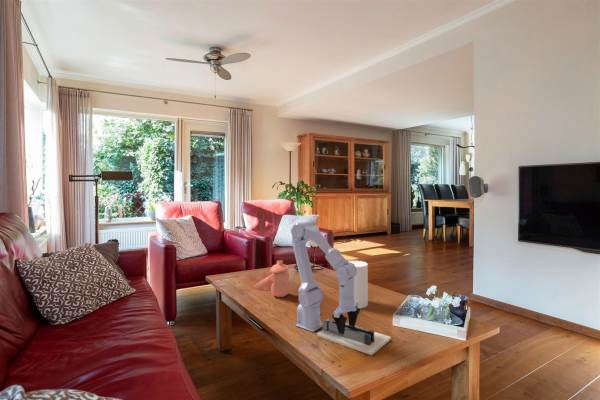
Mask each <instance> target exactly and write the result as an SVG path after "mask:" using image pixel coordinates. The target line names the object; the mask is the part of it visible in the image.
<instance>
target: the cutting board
mask: <svg viewBox="0 0 600 400" xmlns="http://www.w3.org/2000/svg"><path fill="white" fill-rule="evenodd" d="M346 324H348V325H349V323H346ZM355 326H356V325H355ZM356 327H359V326H356ZM359 328H361V327H359ZM316 337H319V338H322V339H325V340H327V341H330V342H333V343H336V344H338V345H342V346H344V347H347V348H350V349H353V350H355V351H358V352H360V353H361V352H362V353H365V354H367V355H370V356H373V355H374V354H375V353H377V352H378V351H379V350H380V349H381V348H382V347H383V346H385V345H386V344H387V343H389V342H390V341H391V340H392V337H391V336H390V335H386V334H383V333H380V332H377V331H374V342H371V345H370V346H369V345H366V344H363V343H360V342H357V341H354V340H351V339H348V338H345V337H342V336H339V335H336V334H333V333H330V332H329V331H324V330H323V329H322V330H320V331H318V332H317V333H316Z"/></svg>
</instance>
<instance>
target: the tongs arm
mask: <svg viewBox="0 0 600 400" xmlns="http://www.w3.org/2000/svg"><path fill="white" fill-rule="evenodd" d="M331 322H332V323H334V324H336V323H335V321H334V319H333V320H332V321H331ZM348 324H349V323H347V324H345V327H347V328H350V329H353V330H357V331H360V332H363V333H367V334H370V335H371V342H374V332H375V331H373V330H370V329H366V328H363V327H360V328H359V326H357V327H356V325H355V326H352V325H348Z"/></svg>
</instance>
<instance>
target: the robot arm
mask: <svg viewBox="0 0 600 400" xmlns="http://www.w3.org/2000/svg"><path fill="white" fill-rule="evenodd" d="M290 234H291V244H292V248H293V254H294V258H295V260H296V261H295V262H296V265H297V270H298V275H299V278H300V279H299V280H300V282H301V285H300V286H299V288H298V303H299V304H298V306H297V308H296V324H295V326H296V327H298V328H301V329H304V330H306V331H310V332H315V331H317V330H319V329H320V328H323V323H321V315H320V312H321V307H320V305H321V302H322V300H323V299H324V294H323V293H324V292H323V291H322V289H321V287H320V284H319V283H318V282H317V281H315V278H314V274H313V269H312V265H311V261H310V256H309V254H308V250H307V243H308V241H313V242H314V244H316V245H317V246H318V248H319V249H321V251H322V252H323V253H324V254H325V260H326V261H327V262H328V263H329V265H330V266H331V268H333V269H334V271H335V276H336V278H337V283H338V306H337V308H336V309H335V310H334V311H333V314H332V318H333V320H334V321H335V323H336V325H337V329H338V332H339V333H340V334H344V332H345V324H346V322H347V320H348V324H349V325H352V326H356V322H357V318H358V316H359V314H360V312H361V308H357V307H358V306H359V302H357V301H354V276H355V275H356V273H357V269H356V267H355V265H354V264H353V263H351V262H348V261H349V260H347V259H346V258H345V257H344V256H343V255H342V253H341V251H340V249H338V248H333V247H332V246H331V245H330V244H329V242H328V241H327V239H326V238H325V237H324V235H323V234H322V233H321V231H320V228H319V226H318V225H317V224H316V222H315V221H314V220H307V221H301V222H294V224H293V225H292V227H291V229H290ZM345 313H346V314H347V317H346V316H344V314H345Z"/></svg>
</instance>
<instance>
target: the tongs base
mask: <svg viewBox="0 0 600 400" xmlns="http://www.w3.org/2000/svg"><path fill="white" fill-rule="evenodd" d="M331 321H333V320H331V319H329V318H325V319H324V320H323V321H322V324H323V327H322V330H324V331H329V332H330V333H333V334H336V335H339V336H342V337H345V338H348V339H351V340H354V341H357V342H360V343H363V344H366V345H369V346H370V345H371V335H370V334H367V333H363V332H360V331H357V330H353V329H350V328H347V327H345V332H344V334H340V333H339V332H338V329H337V325H336V324H334V323H332V322H331Z"/></svg>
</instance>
